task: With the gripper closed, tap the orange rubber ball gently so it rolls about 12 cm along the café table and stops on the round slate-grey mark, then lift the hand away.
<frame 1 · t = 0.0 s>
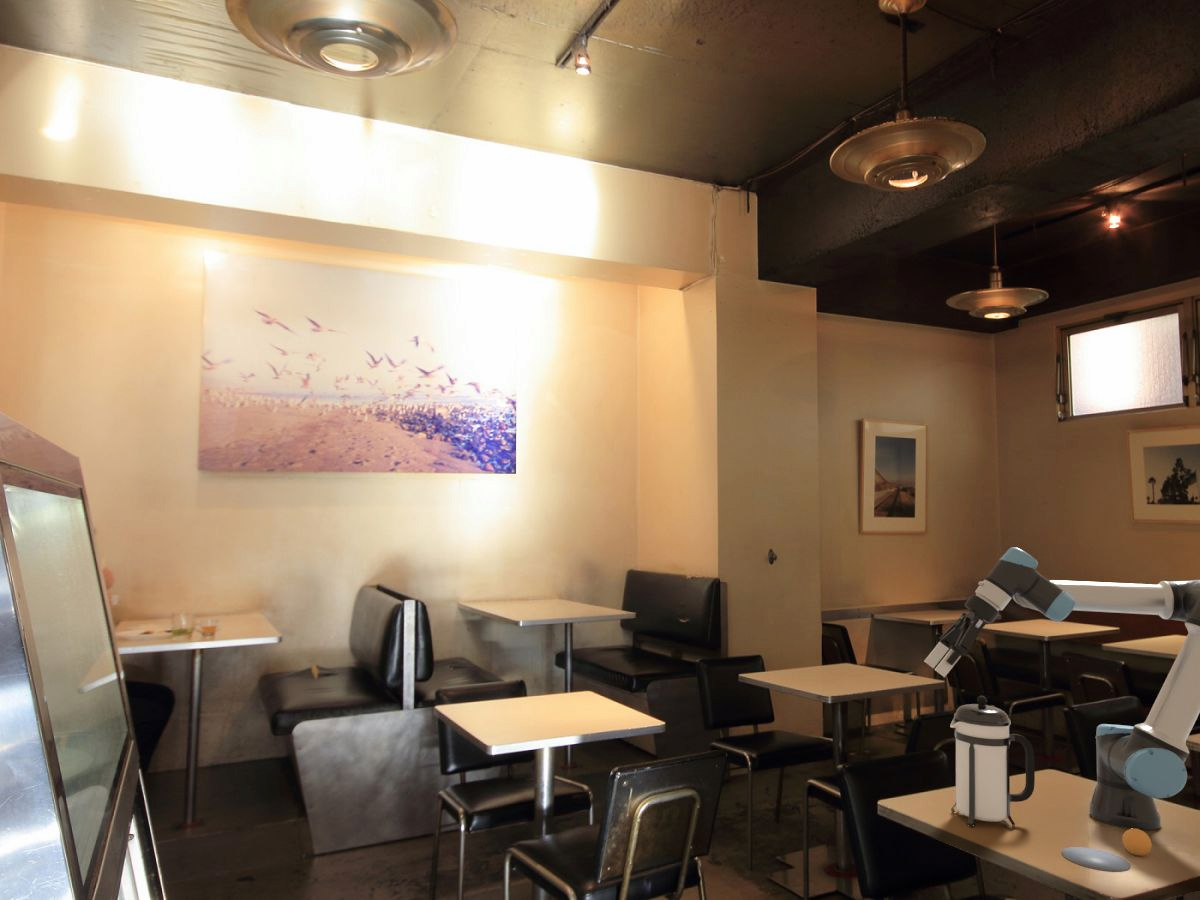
hand: (933, 669, 211), 36 cm above the table, tool tilted 35°, fingers open, 13 cm apart
ball: (1137, 841, 188), on the table
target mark: (1095, 859, 184), on the table
coffee press: (987, 821, 207), on the table
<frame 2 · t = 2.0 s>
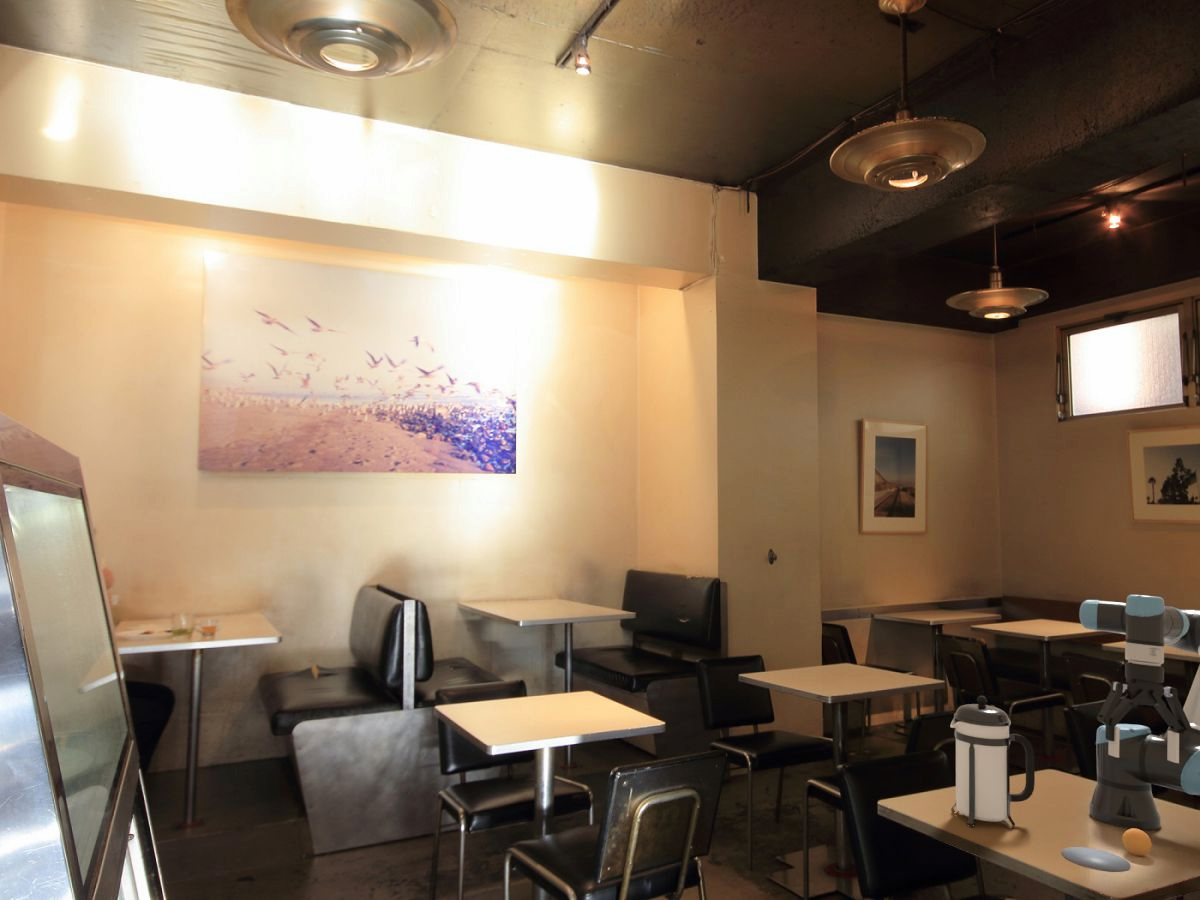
hand: (1143, 759, 190), 21 cm above the table, tool pointing down, fingers open, 13 cm apart
nothing on the table moved.
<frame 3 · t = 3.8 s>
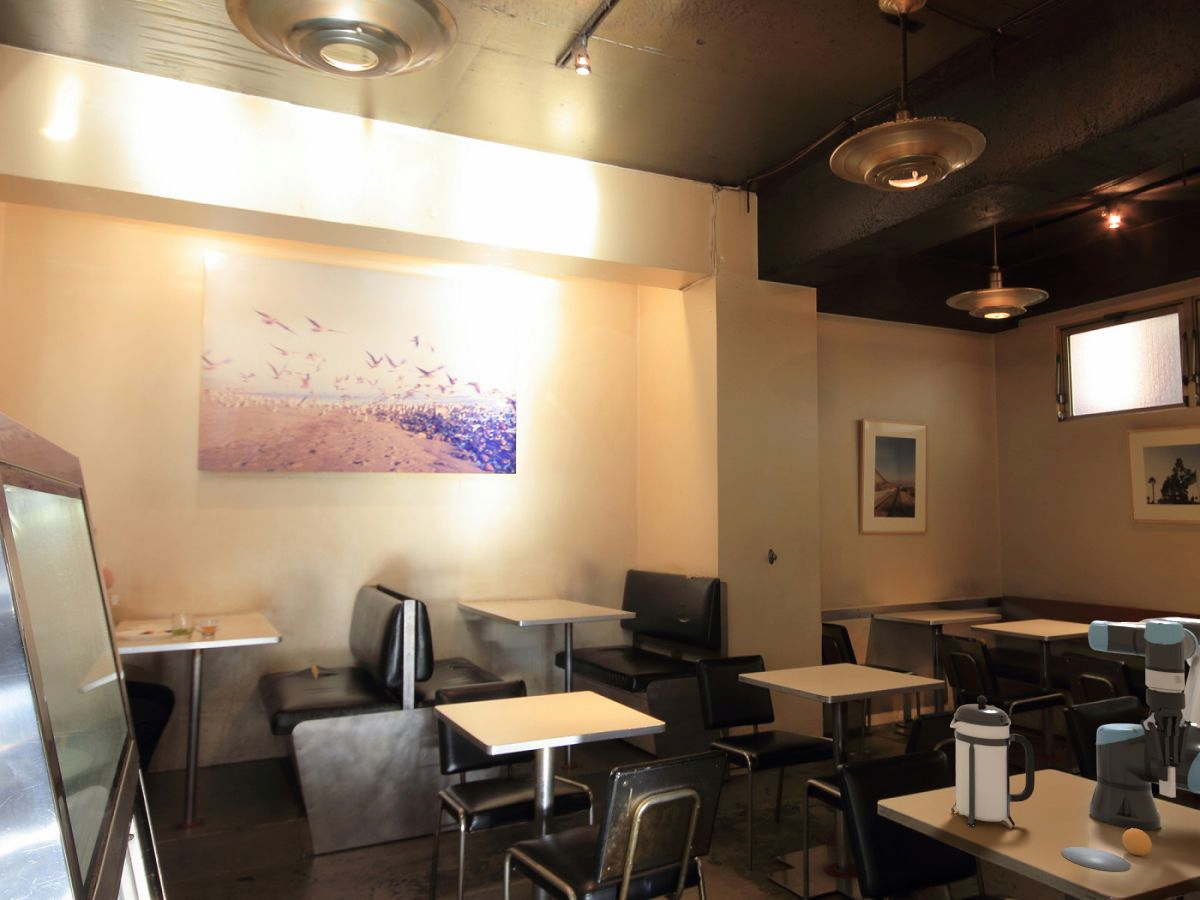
hand: (1167, 795, 191), 12 cm above the table, tool pointing down, fingers closed
nothing on the table moved.
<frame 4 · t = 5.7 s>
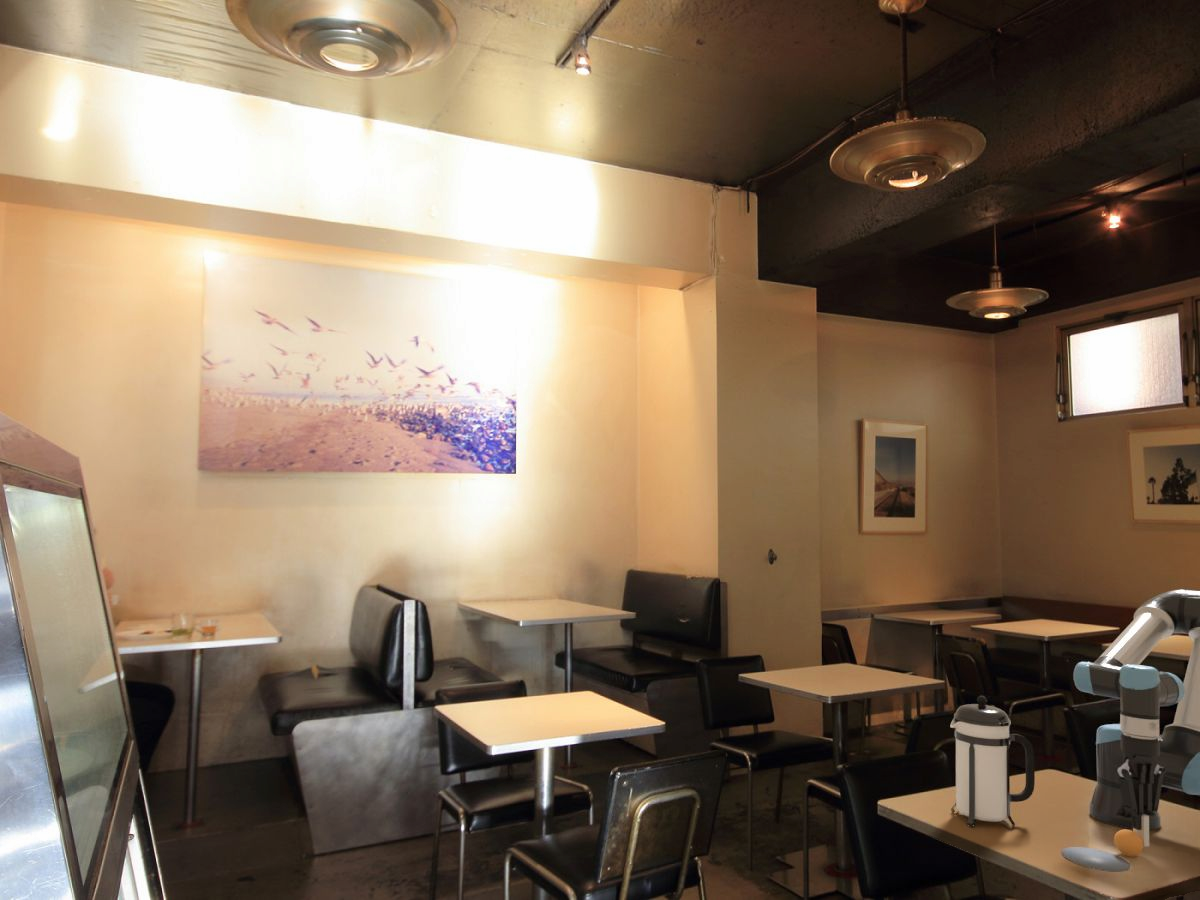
hand: (1141, 844, 188), 2 cm above the table, tool pointing down, fingers closed
ball: (1128, 842, 187), on the table
everything else where it was.
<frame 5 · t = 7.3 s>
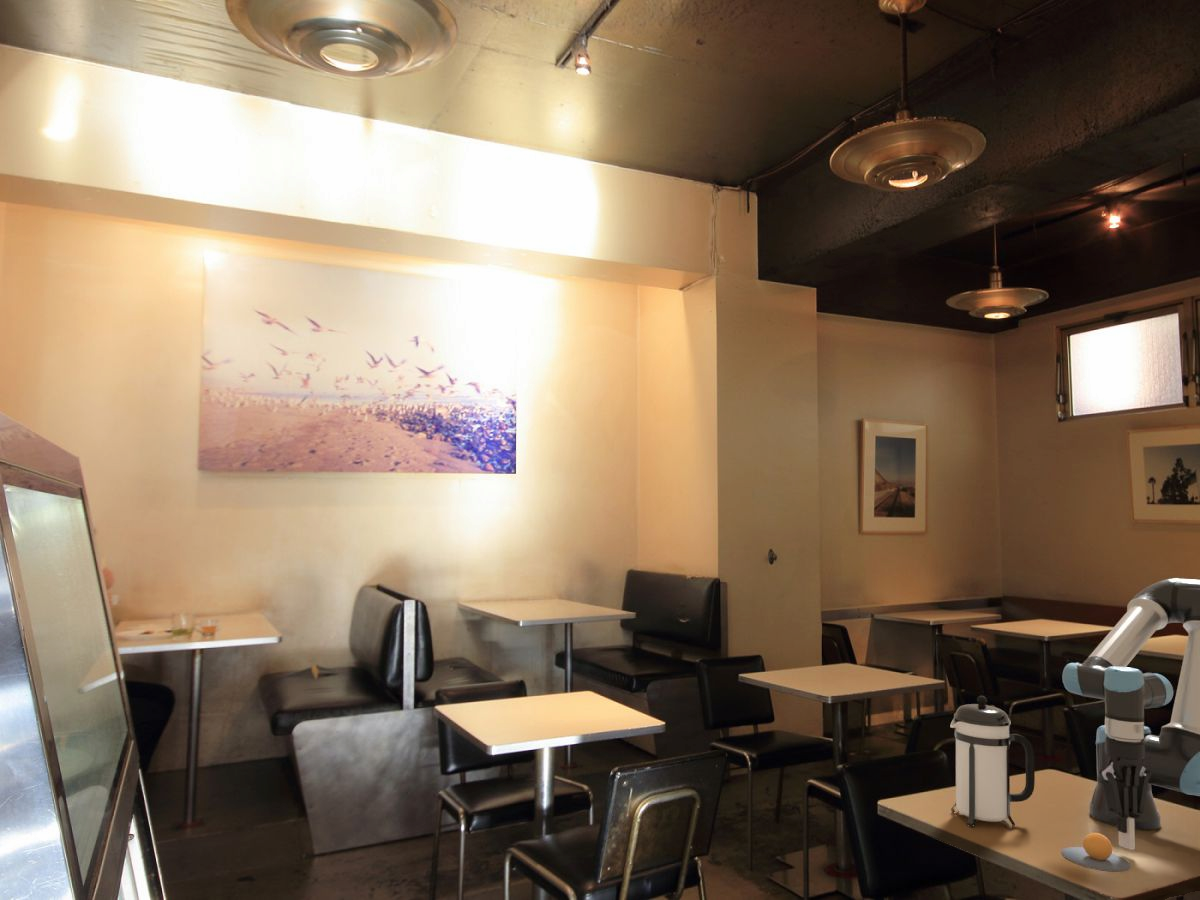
hand: (1126, 846, 187), 2 cm above the table, tool pointing down, fingers closed
ball: (1097, 846, 184), on the table
everything else where it was.
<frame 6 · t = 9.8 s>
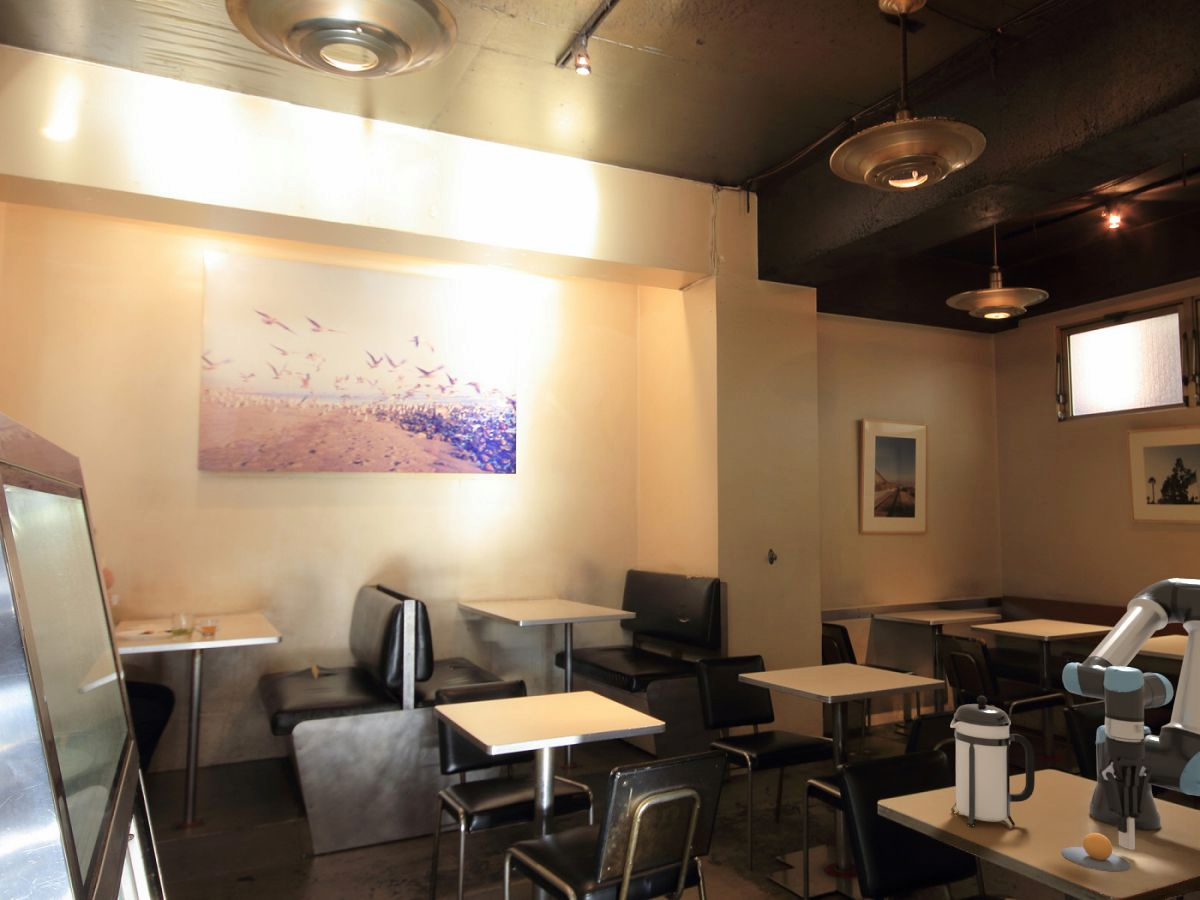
hand: (1126, 846, 187), 2 cm above the table, tool pointing down, fingers closed
nothing on the table moved.
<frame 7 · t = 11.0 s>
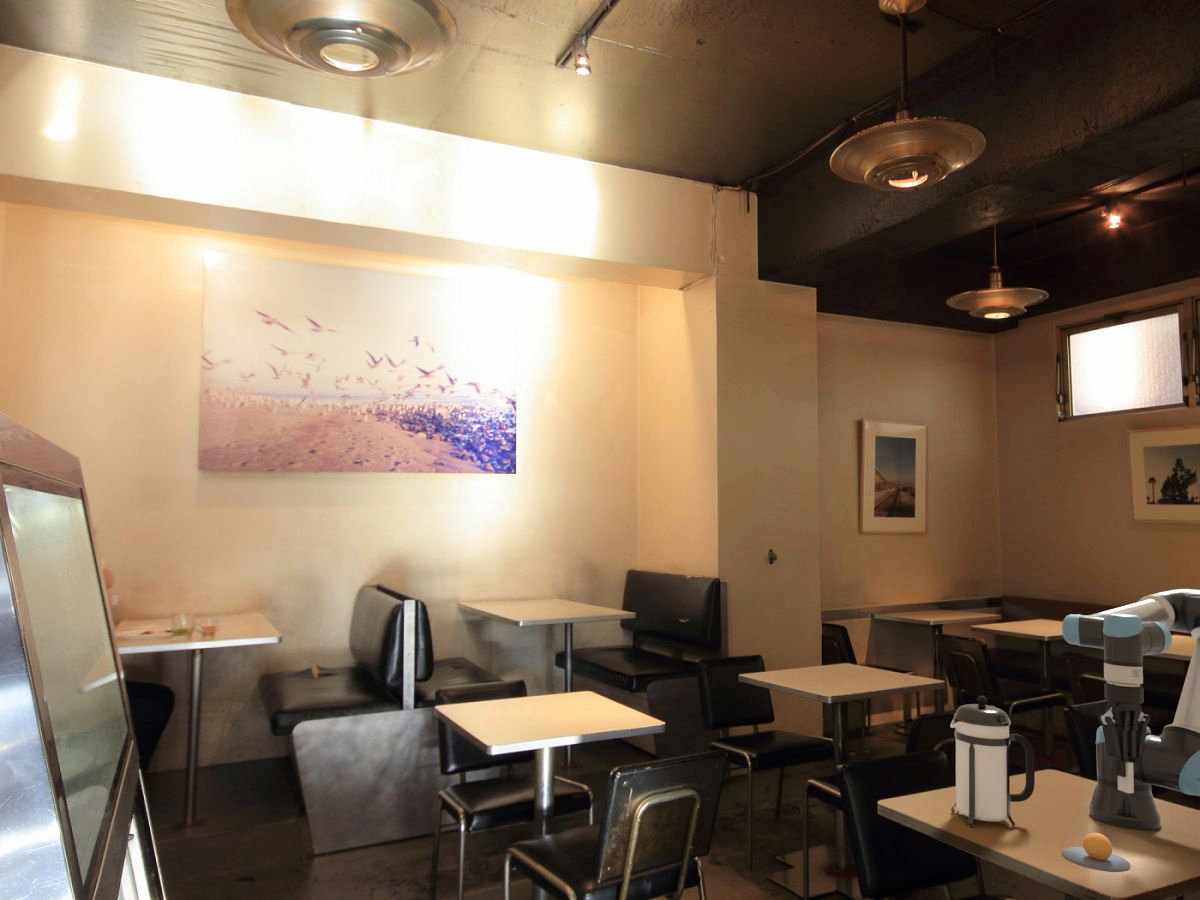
hand: (1125, 791, 188), 14 cm above the table, tool pointing down, fingers closed
nothing on the table moved.
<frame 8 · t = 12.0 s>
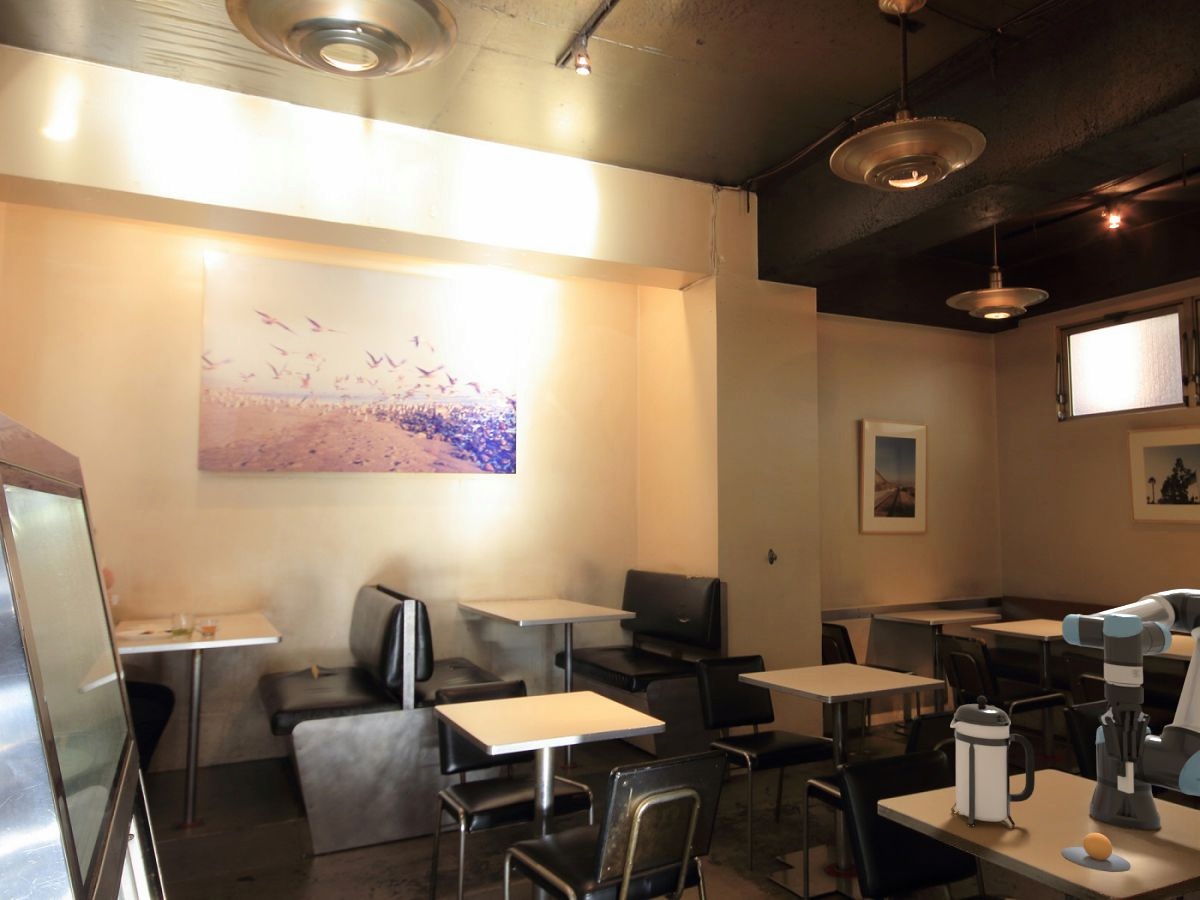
hand: (1125, 791, 188), 14 cm above the table, tool pointing down, fingers closed
nothing on the table moved.
at the end: ball 0.5 cm from the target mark (horizontally); ball at rest at the end (0.0 cm/s); ball moved 11.6 cm from its start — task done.
